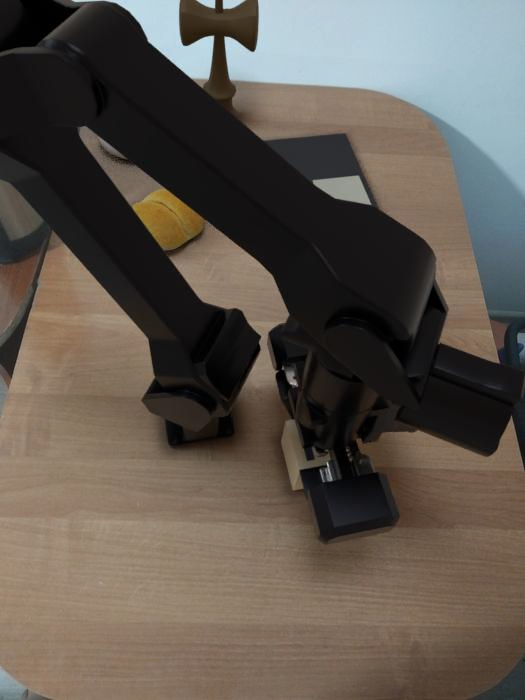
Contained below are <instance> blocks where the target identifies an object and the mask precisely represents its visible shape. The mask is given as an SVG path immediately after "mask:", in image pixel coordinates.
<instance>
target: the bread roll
mask: <svg viewBox="0 0 525 700" xmlns="http://www.w3.org/2000/svg"><path fill="white" fill-rule="evenodd" d="M131 207H132V208H133V210H134V211H135V212H136V214H137V215H138V216H139V218H140V219H141V220H142V222H143V223H144V224H145V226H146V227H147V228H148V230H149V231H150V232H151V234H152V235H153V237H154V238H155V239H156V241H157V242H158V243H159V245H160V246H161V247H162V249H163V250H164V251H165V252H166V251H171V250H175V249H177V248H179V247H181V246H182V245H184V244H185V243H187V242H188V241H189V240H191V239H193V238H195V237H196V236H198V235H199V234H200V233H201V232H202V230H203V229H204V224H205V219H203V218H202V217H201V216H200V215H198V214H197V213H196V212H194V211H193V210H192V209H191V208H189V207H188V206H187V205H186V204H184V203H183V202H182V201H180V200H179V199H178V198H177V197H175V196H174V195H173V194H172V193H170V192H169V191H168V190H166V189H165V188H163V189H158V190H157V189H156V190H155V191H152V192H151V193H150V194H148V195H147V196H145V197H144V199H142V200H141V201H138V202H136V203H134V204H133V205H131Z"/></svg>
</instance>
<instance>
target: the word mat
mask: <svg viewBox="0 0 525 700" xmlns="http://www.w3.org/2000/svg"><path fill="white" fill-rule="evenodd" d="M263 141H264V142H266V143H267V144H268V145H269V146H270V147H271V148H272V149H274V150H275V151H276V152H277V153H278V154H279V155H281V156H282V157H283V158H284V159H285V160H286V161H288V162H289V163H290V164H291V165H292V166H293V167H295V168H296V169H297V170H298V171H299V172H300V173H301V174H303V175H304V176H305V177H306V178H307V179H308V180H310V181H311V182H312V183H313V184H314V185H315V186H317V187H318V188H320V189H321V190H323V191H324V192H326V193H327V194H329V195H331V196H332V197H334V198H336V199H342V200H348V201H353V202H359V203H364V204H370V205H372V206H375V207H376V208H378V209H379V210H380V208H379V207H378V204H377V201H376V199H375V197H374V195H373V193H372V190H371V187H370V186H369V184H368V181H367V179H366V177H365V175H364V172H363V170H362V167H361V165H360V163H359V161H358V159H357V156H356V154H355V152H354V149H353V147H352V145H351V143H350V140H349V138H348V136H347V133H333V134H323V135H311V136H300V137H291V138H290V137H289V138H280V139H279V138H278V139H267V140H263Z"/></svg>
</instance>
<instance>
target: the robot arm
mask: <svg viewBox="0 0 525 700" xmlns="http://www.w3.org/2000/svg"><path fill="white" fill-rule="evenodd" d="M83 127H86V128H87V129H88V130H89V131H91V132H92V133H93V134H95V135H96V136H97V135H98V136H99V137H100V138H101V139H103V140H104V141H105V142H106V143H108V144H109V145H110V146H112V147H113V148H114V149H115V150H117V151H118V152H119V153H120V154H122V155H123V156H124V157H126V158H127V159H126V160H128V161H129V162H130V163H132V164H133V165H134V166H135V167H137V168H138V169H139V170H140V171H142V172H144V173H145V174H146V175H147V176H149V178H151V179H152V180H154V181H155V182H156V183H157V184H158V185H160V186H161V187H162V188H163V189H166V190H168V191H169V192H170V193H172V194H173V195H174V196H175V197H177V198H178V199H179V200H180V201H182V202H183V203H184V204H186V205H187V206H188V207H189V208H191V209H192V210H193V211H194V212H196V213H197V214H198V215H200V216H201V217H202V218H203V219H204V221H206V222H207V223H209V224H210V225H211V226H212V227H213V228H215V229H216V230H217V231H219V232H220V233H221V234H223V236H225V237H226V238H227V239H229V240H230V241H231V242H232V243H234V244H235V245H237V246H238V247H239V248H240V249H242V250H243V251H244V252H245V253H247V254H248V255H249V256H251V257H252V258H253V259H254V260H256V261H257V262H258V263H259V264H260V265H261V266H262V267H263V268H264V269H265V270H266V271H267V272H268V273H269V274H270V275H271V276H272V278H273V280H274V282H275V285H276V287H277V289H278V292H279V294H280V297H281V298H282V301H283V303H284V306H285V308H286V311H287V312H288V316H287V318H286V321H285V322H281V323H280V322H279V323H278V324H276V325H275V326H274V327H272V328H271V329H270V330H269V331H268V333H267V341H266V346H267V350H268V354H269V357H270V361H271V365H272V368H273V370H274V371H275V372H276V373H275V376H274V377H275V378H274V379H275V382H276V386H277V389H278V394H279V397H280V401H281V404H282V405H283V406H284V408H285V409H286V411H287V413H288V415H289V416H290V418H291V420H293V419H295V423H296V427H297V431H298V434H299V438H300V442H301V446H302V449H305V448H310V447H313V449H314V452H315V455H316V456H317V457H323V456H326V455H327V454H328V452H329V455H330V458H331V460H328V461H326V463H325V465H323V466H317V467H312V468H307V469H301V470H299V473H300V477H301V481H302V484H303V488H304V489H303V492H304V496H305V500H306V501H307V507H308V511H309V513H310V519H311V522H312V528H313V531H314V535H315V539H316V540H317V541H318V542H320V543H321V544H323V545H324V546H329V545H334V544H339V543H344V542H347V541H348V542H349V541H352V540H357V539H361V538H366V537H371V536H376V535H380V534H381V535H382V534H385V533H390V532H391V531H392V530H393V529H394V528H395V527H396V525H397V524H398V522H399V520H400V519H401V513H400V511H399V508H398V505H397V502H396V499H395V496H394V493H393V490H392V488H391V487H392V486H391V485H390V484H391V483H390V481H389V479H388V475H387V473H383V472H379V471H376V470H375V466H374V463H373V461H372V458H371V457H370V456H369V455H367V454H365V453H362V452H361V451H360V448H359V445H358V441H357V440H359V439H360V440H361V444H363V445H365V444H370V443H376V442H378V441H379V439H381V436H382V435H383V433H408V434H409V433H410V434H411V433H412V434H413V433H416V432H418V431H419V432H421V433H423V434H427V435H428V436H431V437H434V438H436V439H439V440H441V441H444V442H447V443H449V444H451V445H453V446H457V447H459V448H462V449H463V450H466V451H469V452H472V453H474V454H477V455H479V456H482V457H483V458H490V456H493V455H494V454H495V453H496V452H497V450H498V449H499V447H500V443H501V442H500V441H501V438H502V437H503V436H504V434H505V432H506V429H507V427H508V425H509V423H510V421H511V418H512V415H513V413H514V410H515V407H517V406H518V405H519V404H520V403H521V401H522V400H523V396H524V391H525V371H524V370H521V369H519V368H516V367H514V366H511V365H508V364H504V363H500V362H495V361H491V360H489V359H486V358H484V357H481V356H478V355H475V354H472V353H470V352H467V351H464V350H461V349H458V348H456V347H453V346H451V345H448V344H445V343H443V342H440V341H441V337H442V334H443V330H444V327H445V324H446V321H447V317H448V314H449V310H450V308H449V306H448V303H447V301H446V299H445V297H444V295H443V292H442V291H441V288H440V286H439V284H438V282H437V280H436V275H437V263H436V262H437V256H436V254H435V252H434V249H433V248H432V247H431V246H430V244H429V243H428V242H427V240H425V239H424V238H423V237H422V236H420V235H419V234H418V233H416V232H414V231H413V230H412V229H410V228H409V227H407V226H405V225H404V224H403V223H401V222H399V221H398V220H396V219H395V218H393V217H392V216H390V215H389V214H387V213H385V212H384V211H382V210H381V209H380V208H379V207H378V208H379V209H378V208H376V207H375V206H372V205H370V204H364V203H359V202H353V201H348V200H342V199H336V198H334V197H332V196H331V195H329V194H327V193H326V192H324V191H323V190H321V189H320V188H318V187H317V186H315V185H314V184H313V183H312V182H311V181H310V180H308V179H307V178H306V177H305V176H304V175H303V174H301V173H300V172H299V171H298V170H297V169H296V168H295V167H293V166H292V165H291V164H290V163H289V162H288V161H286V160H285V159H284V158H283V157H282V156H281V155H279V154H278V153H277V152H276V151H275V150H274V149H272V148H271V147H270V146H269V145H268V144H267V143H266V142H264V141H265V140H263V138H261V137H260V136H258V135H257V134H256V133H255V132H254V131H253V130H252V129H251V128H249V127H248V126H247V125H246V124H245V123H244V122H242V121H241V119H239V117H237V118H236V117H235V116H234V115H233V114H232V113H231V112H230V111H228V110H227V109H226V108H225V107H224V106H223V105H221V104H220V103H219V102H218V101H217V100H216V99H214V98H213V97H212V96H211V95H210V94H209V93H207V92H206V91H205V90H204V89H203V86H201V85H199V84H198V83H197V82H196V81H195V80H193V79H192V78H191V77H190V76H189V75H188V74H187V73H186V72H184V70H182V69H181V68H180V67H179V66H178V65H176V64H175V63H174V62H173V61H172V60H170V59H169V58H168V57H167V56H166V55H165V54H164V53H162V52H161V51H160V50H159V49H158V48H156V46H154V45H153V44H152V43H151V42H150V41H149V39H148V37H147V35H146V32H145V30H144V29H143V26H142V25H141V23H140V22H139V20H138V19H137V18H136V17H135V16H134V15H133V14H132V13H131V12H130V10H128V9H126V8H125V7H124V6H121V5H120V4H118V3H117V2H113V1H110V0H109V1H108V0H88V1H87V0H85V1H74V0H0V180H1V181H3V182H6V183H8V184H10V185H11V186H12V187H13V188H14V189H15V190H16V192H18V193H19V195H21V197H23V199H24V200H25V201H26V202H27V203H28V205H29V206H30V207H31V208H32V209H33V211H35V212H36V214H37V215H38V216H39V217H40V218H41V219H42V220H43V221H44V223H45V224H46V225H47V226H48V227H49V228H50V229H51V230H52V232H53V233H54V234H55V235H56V236H57V237H58V238H59V240H60V241H61V242H62V243H63V244H64V245H65V246H66V247H67V249H68V250H69V251H70V252H71V253H72V255H74V256H75V258H76V259H77V260H78V261H79V262H80V263H81V264H82V266H83V267H84V268H85V269H86V270H87V271H88V273H89V274H90V275H91V276H92V277H93V278H94V279H95V280H96V282H98V283H99V284H100V286H101V287H102V288H103V289H104V290H105V292H106V293H107V294H108V295H109V296H110V297H111V298H112V300H113V301H114V302H115V303H116V304H117V305H118V307H120V308H121V310H122V311H123V312H124V313H125V314H126V315H127V316H128V318H129V319H130V320H131V321H132V322H133V323H134V325H136V327H137V328H138V329H139V330H140V331H141V332H142V333H143V335H144V336H145V337H146V338H147V342H148V347H149V355H150V360H151V366H152V373H153V376H154V378H153V380H152V381H151V383H150V385H149V386H148V388H147V390H146V391H145V392H144V395H143V396H142V398H141V400H140V401H141V402H142V404H143V405H144V406H145V408H146V409H147V411H148V412H150V413H151V414H153V415H156V416H157V417H160V418H162V419H164V424H165V432H166V439H167V445H168V446H169V448H172V449H174V448H175V449H176V448H180V447H186V446H193V445H197V444H198V445H199V444H202V443H203V444H204V443H209V442H215V441H219V440H220V441H221V440H226V439H231V438H233V437H235V435H236V429H235V425H234V420H233V414H232V409H233V408H234V406H235V404H236V402H237V399H239V396H240V393H241V391H242V390H243V387H244V386H245V383H246V382H247V380H248V378H249V376H250V373H252V370H253V368H254V366H255V364H256V362H257V360H258V358H259V356H260V353H261V350H262V348H261V347H262V346H261V344H260V341H261V339H262V335H261V334H259V332H257V331H256V330H255V329H254V328H253V327H252V326H251V325H250V323H249V321H248V320H247V318H246V316H245V313H244V312H243V310H241V309H239V308H237V307H232V308H226V307H222V306H219V305H215V304H212V303H208V302H205V301H204V300H202V299H201V298H200V297H199V296H198V294H197V293H196V292H195V290H194V289H193V288H192V286H191V285H190V284H189V282H188V281H187V280H186V278H185V277H184V275H183V274H182V273H181V272H180V270H179V269H178V267H177V266H176V264H175V263H174V262H173V261H172V259H171V258H170V256H169V255H168V254H167V253H166V250H165V251H164V250H163V249H162V247H161V246H160V245H159V243H158V242H157V241H156V239H155V238H154V237H153V235H152V234H151V232H150V231H149V230H148V228H147V227H146V226H145V224H144V223H143V222H142V220H141V219H140V218H139V216H138V215H137V214H136V212H135V211H134V210H133V208H132V205H131V204H130V203H129V202H128V200H127V199H126V197H125V196H124V195H123V193H122V192H121V191H120V189H119V188H118V186H116V184H115V183H114V181H113V179H112V178H111V177H110V176H109V175H108V173H107V172H106V171H105V169H104V167H102V165H101V164H100V162H99V161H98V160H97V159H96V157H95V156H94V154H93V153H92V152H91V151H90V149H89V147H88V146H87V145H86V144H85V142H84V140H83V139H82V137H81V135H80V131H79V128H83ZM98 136H97V137H98ZM229 431H230V432H231V433H228V432H229ZM172 442H174V443H172ZM346 449H347V450H348V451H346ZM325 450H328V452H327V451H325ZM348 454H351V455H349V456H348ZM350 459H352V460H350Z"/></svg>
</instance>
